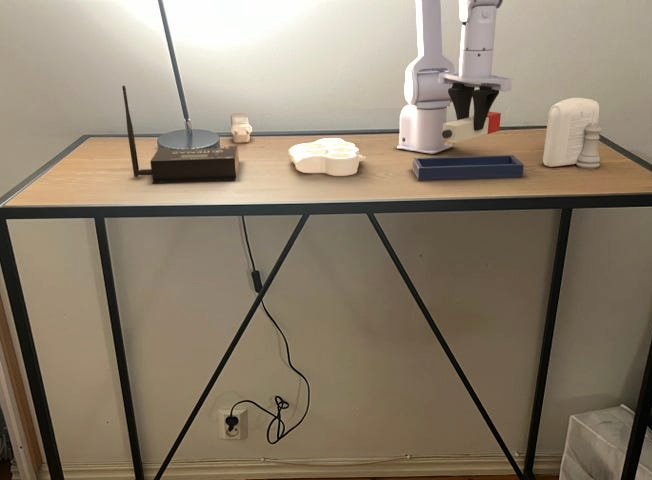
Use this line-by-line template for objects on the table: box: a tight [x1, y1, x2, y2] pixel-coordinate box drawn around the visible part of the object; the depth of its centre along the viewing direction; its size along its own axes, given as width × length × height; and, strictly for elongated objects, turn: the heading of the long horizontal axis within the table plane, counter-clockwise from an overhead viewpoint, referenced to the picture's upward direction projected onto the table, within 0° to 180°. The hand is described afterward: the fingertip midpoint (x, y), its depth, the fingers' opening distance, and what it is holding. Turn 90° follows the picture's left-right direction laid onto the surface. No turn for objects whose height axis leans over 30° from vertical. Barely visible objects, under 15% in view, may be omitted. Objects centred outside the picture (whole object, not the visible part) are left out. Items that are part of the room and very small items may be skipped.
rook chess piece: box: [575, 122, 603, 170], centre depth 139 cm, size 4×4×8 cm
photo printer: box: [542, 97, 600, 168], centre depth 140 cm, size 10×4×12 cm, turn 113°
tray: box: [412, 154, 525, 182], centre depth 137 cm, size 20×8×2 cm, turn 92°
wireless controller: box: [121, 85, 240, 185], centre depth 139 cm, size 20×14×17 cm
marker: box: [442, 110, 502, 144], centre depth 134 cm, size 15×3×3 cm, turn 134°
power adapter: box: [229, 112, 253, 144], centre depth 164 cm, size 11×5×6 cm, turn 9°
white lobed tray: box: [288, 137, 367, 177], centre depth 145 cm, size 3×18×15 cm
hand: (470, 128), depth 134 cm, fingers closed on marker, 3 cm apart
